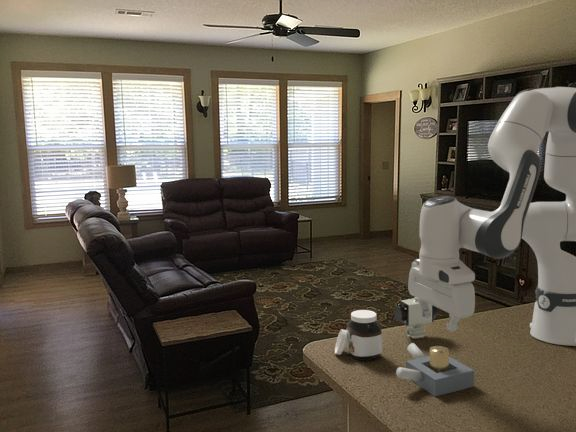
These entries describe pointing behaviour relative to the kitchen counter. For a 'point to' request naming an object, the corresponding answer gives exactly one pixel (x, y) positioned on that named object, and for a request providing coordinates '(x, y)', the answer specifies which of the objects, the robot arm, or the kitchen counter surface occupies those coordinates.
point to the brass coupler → (439, 359)
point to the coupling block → (436, 374)
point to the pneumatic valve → (414, 317)
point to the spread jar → (361, 336)
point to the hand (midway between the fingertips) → (438, 323)
